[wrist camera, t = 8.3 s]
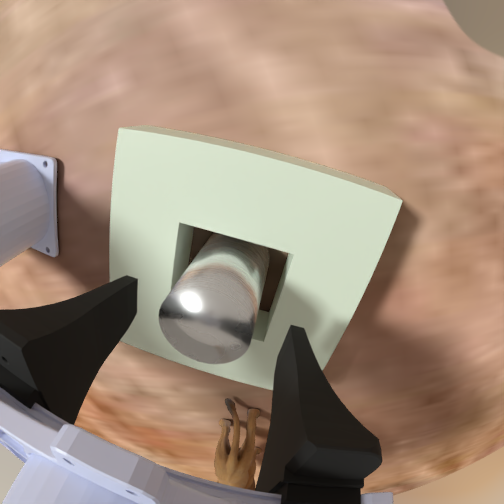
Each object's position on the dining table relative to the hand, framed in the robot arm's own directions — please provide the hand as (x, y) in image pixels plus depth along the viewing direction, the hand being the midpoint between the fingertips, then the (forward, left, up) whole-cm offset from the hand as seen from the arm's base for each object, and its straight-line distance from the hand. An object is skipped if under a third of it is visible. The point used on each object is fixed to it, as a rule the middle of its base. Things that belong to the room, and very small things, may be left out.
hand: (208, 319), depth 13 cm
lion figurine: (+5, -20, -6) cm, 21 cm away
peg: (0, 0, -6) cm, 6 cm away
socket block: (0, 0, -6) cm, 6 cm away
